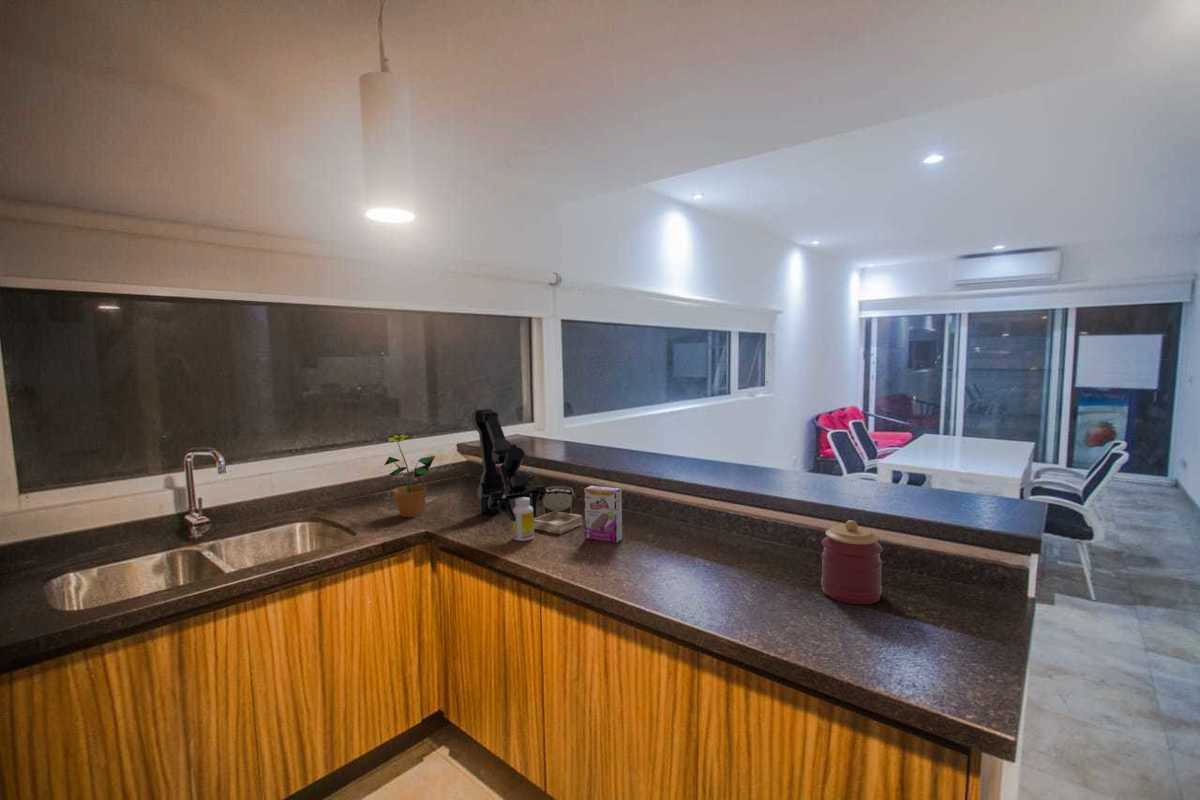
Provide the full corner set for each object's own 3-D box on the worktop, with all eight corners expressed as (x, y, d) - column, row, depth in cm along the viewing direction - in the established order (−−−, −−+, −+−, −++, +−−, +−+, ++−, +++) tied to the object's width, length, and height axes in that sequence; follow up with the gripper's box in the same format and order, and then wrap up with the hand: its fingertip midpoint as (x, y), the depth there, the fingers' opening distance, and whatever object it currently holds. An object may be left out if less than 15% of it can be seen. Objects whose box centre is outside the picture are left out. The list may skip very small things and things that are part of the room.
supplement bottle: (537, 535, 173) (536, 496, 172) (528, 542, 167) (527, 502, 166) (519, 534, 175) (518, 495, 174) (509, 540, 169) (508, 500, 168)
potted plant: (375, 517, 199) (371, 436, 196) (421, 505, 213) (417, 431, 211) (400, 525, 187) (395, 440, 185) (446, 513, 201) (443, 434, 199)
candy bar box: (584, 539, 168) (583, 488, 167) (591, 534, 173) (590, 485, 172) (616, 544, 164) (615, 491, 163) (623, 539, 168) (622, 487, 167)
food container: (577, 512, 199) (576, 486, 198) (574, 517, 193) (573, 490, 192) (544, 512, 200) (543, 485, 200) (540, 517, 194) (540, 489, 193)
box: (531, 528, 181) (531, 519, 181) (554, 518, 191) (554, 510, 191) (560, 534, 174) (560, 525, 174) (582, 524, 184) (582, 515, 184)
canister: (879, 610, 118) (880, 532, 116) (816, 598, 125) (817, 523, 123) (883, 588, 129) (885, 517, 127) (826, 578, 135) (826, 509, 134)
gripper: (488, 467, 168) (501, 510, 159) (543, 461, 177) (558, 501, 168) (482, 487, 176) (494, 529, 167) (535, 480, 185) (549, 519, 176)
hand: (524, 519), depth 169 cm, fingers closed on supplement bottle, 6 cm apart
